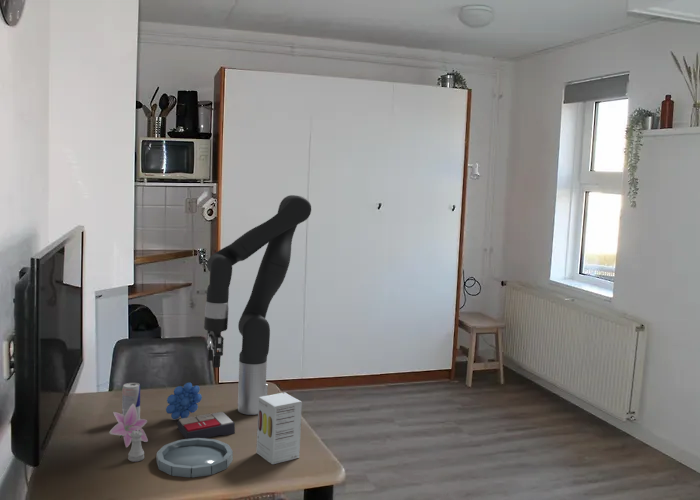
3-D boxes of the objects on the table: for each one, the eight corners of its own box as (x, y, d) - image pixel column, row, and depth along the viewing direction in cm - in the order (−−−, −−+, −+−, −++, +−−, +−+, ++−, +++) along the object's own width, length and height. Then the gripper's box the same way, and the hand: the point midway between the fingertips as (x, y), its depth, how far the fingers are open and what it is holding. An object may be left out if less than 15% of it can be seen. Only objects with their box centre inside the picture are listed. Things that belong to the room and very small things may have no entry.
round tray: (223, 443, 198) (223, 435, 198) (238, 471, 180) (239, 462, 180) (153, 451, 190) (153, 442, 190) (162, 481, 172) (162, 472, 172)
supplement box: (255, 453, 192) (257, 396, 191) (282, 446, 198) (284, 391, 196) (272, 465, 185) (274, 406, 183) (300, 458, 190) (302, 400, 189)
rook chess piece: (129, 455, 187) (130, 427, 186) (146, 455, 187) (146, 428, 186) (125, 462, 182) (126, 434, 182) (142, 462, 183) (143, 434, 182)
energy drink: (142, 419, 214) (143, 383, 213) (135, 425, 209) (136, 388, 208) (126, 418, 215) (127, 381, 213) (119, 424, 209) (119, 386, 208)
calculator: (176, 418, 208) (223, 409, 215) (177, 431, 208) (223, 422, 216) (186, 430, 198) (235, 420, 206) (187, 444, 199) (235, 434, 206)
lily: (101, 453, 190) (114, 428, 187) (101, 423, 200) (113, 399, 197) (142, 458, 196) (155, 434, 193) (140, 430, 206) (152, 407, 203)
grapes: (197, 412, 223) (198, 377, 222) (203, 418, 217) (204, 383, 216) (162, 417, 217) (162, 381, 216) (167, 424, 211) (168, 387, 210)
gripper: (232, 319, 213) (229, 369, 215) (223, 311, 226) (220, 357, 228) (209, 320, 210) (206, 370, 212) (200, 311, 223) (198, 358, 225)
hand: (213, 363), depth 220 cm, fingers open, 8 cm apart
